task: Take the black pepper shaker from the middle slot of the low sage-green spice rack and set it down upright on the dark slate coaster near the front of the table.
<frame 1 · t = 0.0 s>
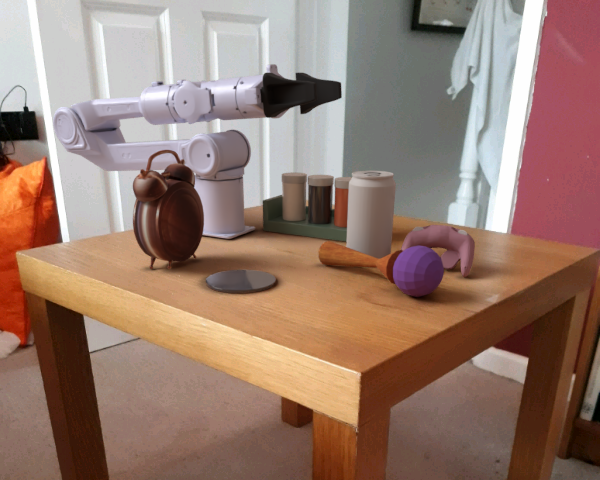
hand: (328, 90, 88), 22 cm above the table, tool horizontal, fingers open, 7 cm apart
pepper shaker: (319, 221, 106), point 2 cm above the table, touching spice rack
paprika shaker: (346, 224, 104), point 2 cm above the table, touching spice rack
salt shaker: (294, 218, 108), point 2 cm above the table, touching spice rack
alarm clock: (173, 266, 89), on the table
kendama: (375, 282, 82), on the table
spice rack: (322, 231, 107), on the table
beverage can: (367, 261, 91), on the table
video game controller: (434, 271, 87), on the table
coaster: (240, 282, 81), on the table
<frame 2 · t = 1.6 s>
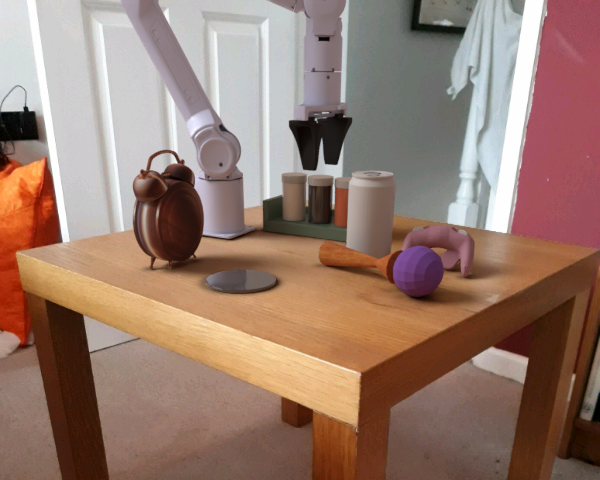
hand: (320, 167, 102), 10 cm above the table, tool pointing down, fingers open, 7 cm apart
nothing on the table moved.
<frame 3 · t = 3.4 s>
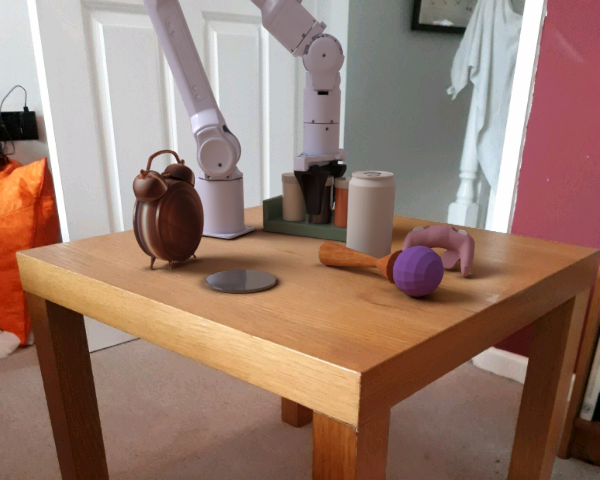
hand: (319, 211, 105), 3 cm above the table, tool pointing down, fingers closed on pepper shaker, 4 cm apart
pepper shaker: (319, 221, 106), point 2 cm above the table, touching gripper, spice rack
everything else where it was.
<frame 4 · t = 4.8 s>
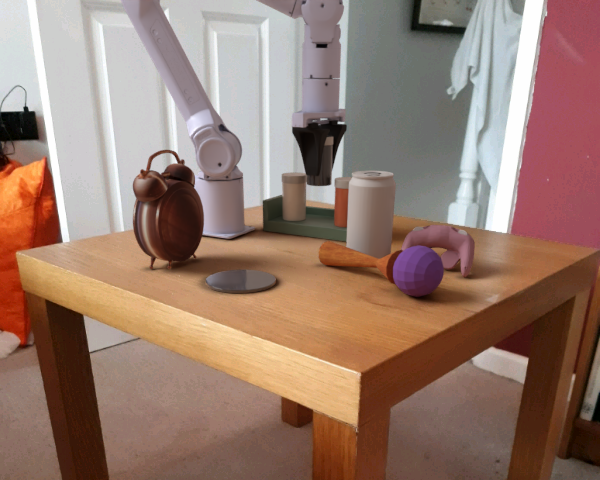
hand: (318, 173, 101), 10 cm above the table, tool pointing down, fingers closed on pepper shaker, 4 cm apart
pepper shaker: (319, 184, 102), point 8 cm above the table, touching gripper
everything else where it was.
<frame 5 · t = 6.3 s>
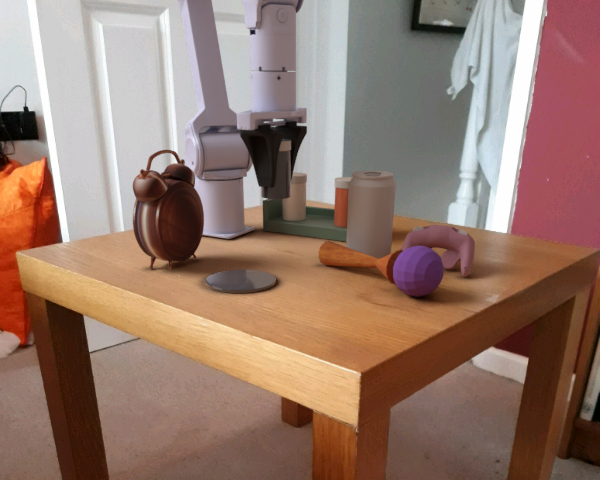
hand: (274, 184, 86), 10 cm above the table, tool pointing down, fingers closed on pepper shaker, 4 cm apart
pepper shaker: (276, 196, 87), point 9 cm above the table, touching gripper
everything else where it was.
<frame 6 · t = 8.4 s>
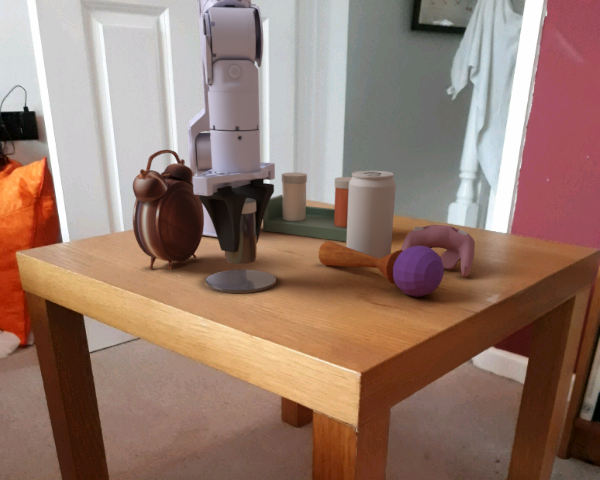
hand: (239, 246, 79), 5 cm above the table, tool pointing down, fingers closed on pepper shaker, 4 cm apart
pepper shaker: (241, 259, 80), point 3 cm above the table, touching gripper
everything else where it was.
when the fingers open (2 cm above the table, at t = 9.6 s): pepper shaker stays where it is, resting on coaster.
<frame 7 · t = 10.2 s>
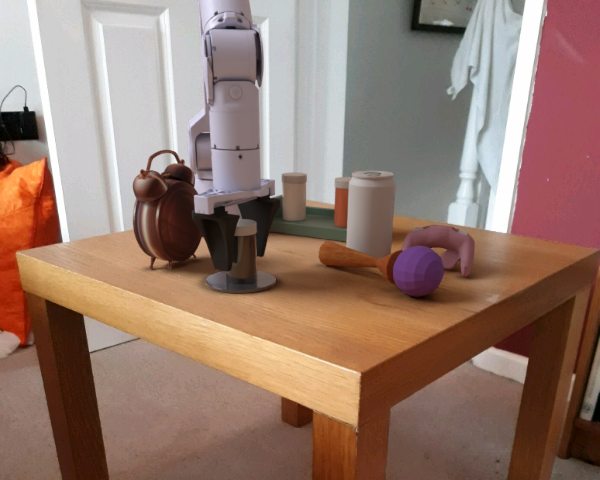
hand: (240, 262, 80), 3 cm above the table, tool pointing down, fingers open, 7 cm apart
pepper shaker: (241, 279, 81), resting on coaster
everything else where it was.
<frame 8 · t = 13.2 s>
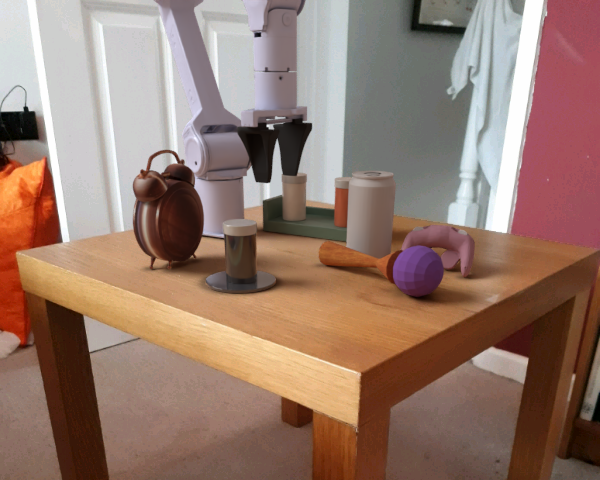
hand: (276, 178, 91), 10 cm above the table, tool pointing down, fingers open, 7 cm apart
nothing on the table moved.
at the end: pepper shaker 0.2 cm off-centre on the coaster, point 0.4 cm above the coaster's base; pepper shaker tilted 0°; the gripper is holding nothing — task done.
